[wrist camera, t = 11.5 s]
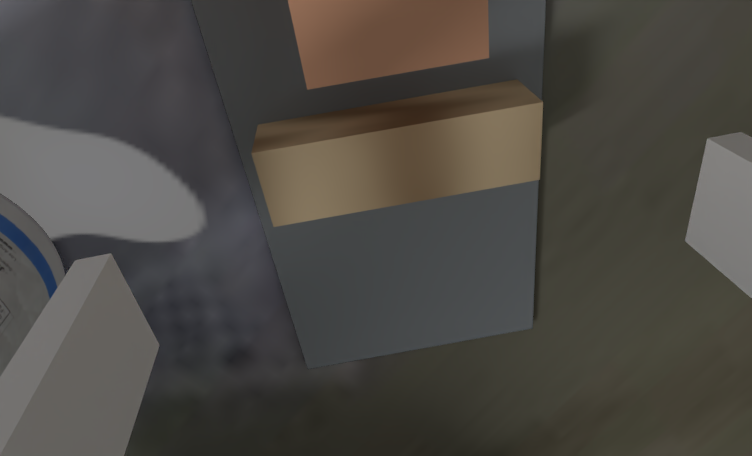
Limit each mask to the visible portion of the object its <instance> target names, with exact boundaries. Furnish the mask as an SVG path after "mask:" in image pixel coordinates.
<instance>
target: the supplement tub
mask: <svg viewBox="0 0 752 456" xmlns="http://www.w3.org/2000/svg"><path fill="white" fill-rule="evenodd" d="M64 277H65V271H64V268H63V264H62V261H61V258H60V256H59V254H58V252H57V250H56V248H55V246H54V244H53V243H52V241H51V240H50V238H49V237H48V235H47V234H46V233H45V231H44V230H43V229H42V228H41V227H40V226H39V224H38V223H37V222H36V221H35V220H34V219H33V218H32V217H31V216H29V215H28V214H27V213H26V212H25V211H24V210H23V209H21V208H20V207H19V206H18V205H16V204H15V203H13V202H12V201H11V200H9V199H8V198H6V197H5V196H3V195H2V194H0V376H1V375H2V373H3V372H4V370H5V369H6V367H7V365H8V364H9V362H10V361H11V359H12V358H13V356H14V355H15V353H16V351H17V350H18V348H19V347H20V345H21V344H22V342H23V341H24V339H25V337H26V336H27V334H28V333H29V331H30V330H31V328H32V327H33V325H34V323H35V322H36V320H37V319H38V317H39V316H40V314H41V313H42V311H43V309H44V308H45V306H46V305H47V303H48V302H49V300H50V298H51V297H52V295H53V294H54V292H55V291H56V289H57V288H58V286H59V284H60V283H61V281H62V280H63V278H64Z"/></svg>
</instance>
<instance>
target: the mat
mask: <svg viewBox="0 0 752 456" xmlns="http://www.w3.org/2000/svg"><path fill="white" fill-rule="evenodd" d="M191 2H192V5H193V8H194V12H195V15H196V18H197V21H198V24H199V27H200V31H201V34H202V37H203V40H204V43H205V46H206V49H207V53H208V56H209V59H210V62H211V65H212V68H213V72H214V75H215V78H216V81H217V84H218V87H219V91H220V94H221V97H222V100H223V103H224V106H225V110H226V113H227V116H228V119H229V122H230V125H231V129H232V132H233V135H234V138H235V141H236V144H237V147H238V151H239V154H240V157H241V160H242V163H243V166H244V170H245V173H246V176H247V179H248V182H249V185H250V189H251V192H252V195H253V198H254V201H255V204H256V208H257V211H258V214H259V217H260V220H261V223H262V226H263V230H264V233H265V236H266V239H267V242H268V245H269V249H270V252H271V255H272V258H273V261H274V264H275V268H276V271H277V274H278V277H279V280H280V283H281V287H282V290H283V293H284V296H285V299H286V302H287V305H288V309H289V312H290V315H291V318H292V321H293V324H294V328H295V331H296V334H297V337H298V340H299V343H300V347H301V350H302V353H303V356H304V359H305V362H306V366H307V369H312V368H318V367H323V366H329V365H334V364H340V363H345V362H351V361H356V360H362V359H367V358H373V357H378V356H384V355H389V354H395V353H400V352H406V351H411V350H417V349H422V348H428V347H433V346H439V345H444V344H450V343H455V342H461V341H466V340H472V339H477V338H482V337H488V336H493V335H499V334H504V333H510V332H515V331H521V330H526V329H532V328H533V306H534V282H535V257H536V232H537V208H538V183H539V180H535V181H530V182H524V183H519V184H513V185H507V186H502V187H496V188H490V189H485V190H479V191H474V192H468V193H462V194H457V195H451V196H446V197H440V198H434V199H429V200H423V201H417V202H412V203H406V204H401V205H395V206H389V207H384V208H378V209H372V210H367V211H361V212H356V213H350V214H344V215H339V216H333V217H328V218H322V219H316V220H311V221H305V222H299V223H294V224H288V225H283V226H277V227H273V223H272V220H271V217H270V214H269V210H268V207H267V204H266V200H265V197H264V194H263V190H262V187H261V184H260V180H259V177H258V174H257V171H256V167H255V164H254V161H253V157H252V154H251V153H252V148H253V144H254V139H255V135H256V131H257V126H258V125H259V124H265V123H270V122H276V121H282V120H288V119H293V118H299V117H305V116H310V115H316V114H322V113H328V112H333V111H339V110H345V109H350V108H356V107H362V106H368V105H373V104H379V103H385V102H390V101H396V100H402V99H408V98H413V97H419V96H425V95H430V94H436V93H442V92H448V91H453V90H459V89H465V88H470V87H476V86H482V85H488V84H493V83H499V82H505V81H510V80H516V79H517V80H519V81H520V82H521V83H522V84H523V85H524V86H525V87H527V88H528V89H529V90H530V91H531V92H532V93H533V94H535V95H536V96H537V97H538V98H539V99H540V100H541V101H542V84H543V60H544V35H545V11H546V0H488V23H489V58H486V59H480V60H475V61H469V62H463V63H457V64H452V65H446V66H440V67H435V68H429V69H423V70H417V71H412V72H406V73H400V74H394V75H389V76H383V77H377V78H371V79H366V80H360V81H354V82H348V83H343V84H337V85H331V86H326V87H320V88H314V89H308V90H307V86H306V81H305V77H304V72H303V68H302V63H301V58H300V54H299V49H298V45H297V40H296V36H295V31H294V27H293V22H292V17H291V13H290V8H289V4H288V0H191Z"/></svg>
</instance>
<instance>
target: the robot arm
mask: <svg viewBox="0 0 752 456" xmlns="http://www.w3.org/2000/svg"><path fill="white" fill-rule="evenodd" d="M685 242H687V243H688V244H689V245H690V246H691V247H692V248H694V249H695V250H696V251H697V252H698V253H699V254H701V255H702V256H703V257H704V258H705V259H706V260H708V261H709V262H710V263H711V264H712V265H713V266H715V267H716V268H717V269H718V270H719V271H720V272H722V273H723V274H724V275H725V276H726V277H727V278H729V279H730V280H731V281H732V282H733V283H734V284H736V285H737V286H738V287H739V288H740V289H741V290H743V291H744V292H745V293H746V294H747V295H748V296H750V297H751V298H752V137H750V136H748V135H746V134H744V133H742V132H738V133H732V134H727V135H722V136H717V137H712V138H707V142H706V147H705V151H704V156H703V161H702V165H701V170H700V174H699V179H698V183H697V188H696V193H695V197H694V202H693V206H692V211H691V215H690V220H689V225H688V229H687V234H686V238H685ZM159 346H160V345H159V343H158V341H157V339H156V337H155V335H154V333H153V332H152V330H151V328H150V326H149V324H148V322H147V320H146V318H145V316H144V314H143V313H142V311H141V309H140V307H139V305H138V303H137V301H136V299H135V297H134V296H133V294H132V292H131V290H130V288H129V286H128V284H127V282H126V280H125V278H124V277H123V275H122V273H121V271H120V269H119V267H118V265H117V263H116V261H115V260H114V258H113V256H112V254H111V253H110V254H104V255H99V256H94V257H89V258H84V259H78V260H75V261H74V263H73V264H72V266H71V267H70V269H69V270H68V272H67V274H66V275H65V277H64V278H63V280H62V281H61V283H60V284H59V286H58V288H57V289H56V291H55V292H54V294H53V295H52V297H51V298H50V300H49V302H48V303H47V305H46V306H45V308H44V309H43V311H42V313H41V314H40V316H39V317H38V319H37V320H36V322H35V323H34V325H33V327H32V328H31V330H30V331H29V333H28V334H27V336H26V337H25V339H24V341H23V342H22V344H21V345H20V347H19V348H18V350H17V351H16V353H15V355H14V356H13V358H12V359H11V361H10V362H9V364H8V365H7V367H6V369H5V370H4V372H3V373H2V375H1V376H0V456H124V455H125V451H126V448H127V445H128V442H129V439H130V436H131V433H132V430H133V427H134V423H135V420H136V417H137V414H138V411H139V408H140V405H141V402H142V399H143V396H144V392H145V389H146V386H147V383H148V380H149V377H150V374H151V371H152V368H153V364H154V361H155V358H156V355H157V352H158V349H159Z"/></svg>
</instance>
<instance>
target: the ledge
mask: <svg viewBox="0 0 752 456" xmlns="http://www.w3.org/2000/svg"><path fill="white" fill-rule="evenodd" d="M542 118H543V101H541V100H540V99H539V98H538V97H537V96H536V95H535V94H533V93H532V92H531V91H530V90H529V89H528V88H527V87H525V86H524V85H523V84H522V83H521V82H520V81H519V80H517V79H516V80H510V81H505V82H499V83H493V84H488V85H482V86H476V87H470V88H465V89H459V90H453V91H448V92H442V93H436V94H430V95H425V96H419V97H413V98H408V99H402V100H396V101H390V102H385V103H379V104H373V105H368V106H362V107H356V108H350V109H345V110H339V111H333V112H328V113H322V114H316V115H310V116H305V117H299V118H293V119H288V120H282V121H276V122H270V123H265V124H259V125H258V126H257V131H256V135H255V139H254V144H253V148H252V153H251V154H252V157H253V161H254V164H255V167H256V171H257V174H258V177H259V180H260V184H261V187H262V190H263V194H264V197H265V200H266V204H267V207H268V210H269V214H270V217H271V220H272V223H273V227H277V226H283V225H288V224H294V223H299V222H305V221H311V220H316V219H322V218H328V217H333V216H339V215H344V214H350V213H356V212H361V211H367V210H372V209H378V208H384V207H389V206H395V205H401V204H406V203H412V202H417V201H423V200H429V199H434V198H440V197H446V196H451V195H457V194H462V193H468V192H474V191H479V190H485V189H490V188H496V187H502V186H507V185H513V184H519V183H524V182H530V181H535V180H540V166H541V142H542Z"/></svg>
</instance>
